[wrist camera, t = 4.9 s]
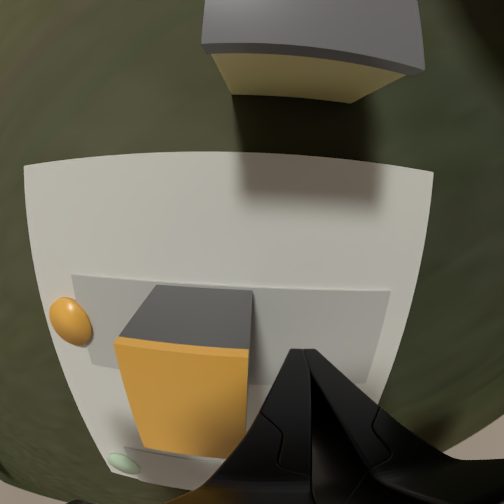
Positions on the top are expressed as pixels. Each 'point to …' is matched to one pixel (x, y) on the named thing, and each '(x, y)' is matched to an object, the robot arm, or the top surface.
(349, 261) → the panel
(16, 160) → the top surface
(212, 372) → the tagged toggle
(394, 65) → the block
